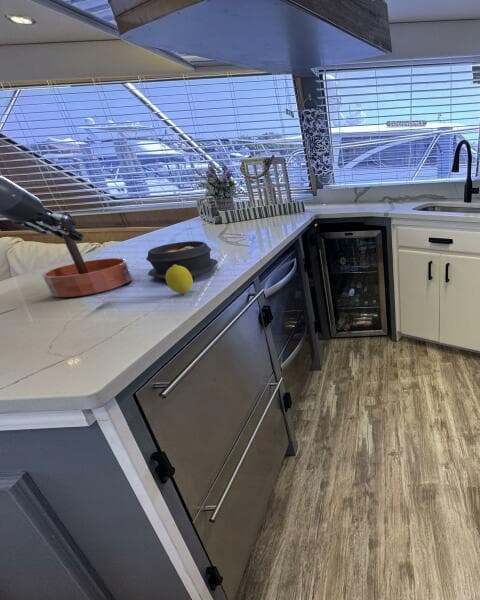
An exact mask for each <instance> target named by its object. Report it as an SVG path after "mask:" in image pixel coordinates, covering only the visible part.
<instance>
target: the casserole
mask: <svg viewBox="0 0 480 600" xmlns="http://www.w3.org/2000/svg"><path fill="white" fill-rule="evenodd" d="M211 251H212V247H209V245H208V244H207V242H205V241H197V240H191V241H181V242H179V241H178V242H172V243H168V244H163V245H159V246H156V247H153V248H150V249H149V250H148V251H147V256H146V258H145V260H146V261H147V262H149V263H150V265H151V266H152V268H151V269H150V270H149V271H148V272H147V276H150V277H153V278H161V279H164V280H166V272H167V270H168V269H169V268H171V267H172V266H173V265H177V266H182V267H184V268H186V269H187V270H188V271H189V272H190V274H191V276H192V278H193V277H197V276H201V275H203V274H207V273H209V272H211V271H213V269H214V267H215V266H217V265H218V263H219V261H218V260H217V259H215V258H211Z"/></svg>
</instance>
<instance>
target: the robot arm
mask: <svg viewBox="0 0 480 600" xmlns="http://www.w3.org/2000/svg"><path fill="white" fill-rule="evenodd" d="M0 216H1V217H3V218H4V219H6V220H9V221H10V222H12V224H13V225H15V226H17V227H20V228H23V229H27V230H29V231H32V232H35V233H39V234H41V235H47V234H48V235H51V236H56V237H58V238H60V239H62V240H63V237H62V235H61V233H63V234H65V235H67V236H68V237H70V238H72V239H74V240H75V242H82V241H83V238H84V235H83V233H82V232H79V231H77V230H76V227H77V223H76V222H75V220H74V218H73V217H72V215H71V214H70V213H68V212H62V214H60V213H55V212H54V211H53V210H51V209H50V208H47V207H45V206H44V205H43V203H42V201H41V199H40V198H39V197H37V196H35V195H34V194H32V193H31V192H29V191H28V190H26V189H25V188H23V187H22V186H20V185H18V184H16V183H15V182H13V181H12V180H10V179H8V178H7V177H5V176H3V175H1V174H0ZM62 225H63V226H64V229H62V228H61V226H62ZM60 232H61V233H60Z"/></svg>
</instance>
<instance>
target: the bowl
mask: <svg viewBox="0 0 480 600" xmlns="http://www.w3.org/2000/svg"><path fill="white" fill-rule="evenodd" d="M84 263H85V265H86V267H87V269H88V272H89V273H84V274H79V272H78V270H77V268H76V266H75V264H74V263H70V264H66V265H62V266H58V267H55V268H52V269H49V270H46V271H44V272H43V273H42V274H41V277H42V279H43V281H44V283H45V285H46V287H47V288H48V290H49V293H50V294H51V295H52V297H57V298H70V297H71V298H73V297H74V298H75V297H83V296H84V297H85V296H89V295H95V294H100V293H103V292H107V291H110V290H113V289H116V288H118V287H121V286H123V285H125V284H128V283H130V282H131V281H132V280H133V275H132V273H131V270H130V267H129V265H128V262H127V260H126V259H124V258H119V257H118V258H117V257H114V258H113V257H111V258H110V257H109V258H100V259H92V260H86V261H85V260H84Z"/></svg>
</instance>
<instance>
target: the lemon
mask: <svg viewBox="0 0 480 600" xmlns="http://www.w3.org/2000/svg"><path fill="white" fill-rule="evenodd" d="M165 282H166V285H167V286H168V288H169V289H170V290H171V291H172V292H174V293H177V294H181V295H186V294H187V292H189V291H191V289H192V288H193V285H194V280H193V277H192V276H191V274H190V272H189V271H188V270H187V269H186V268H184V267H182V266H177V265H173V266H172V267H171V268H169V269H168V270H167V272H166V279H165Z"/></svg>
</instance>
